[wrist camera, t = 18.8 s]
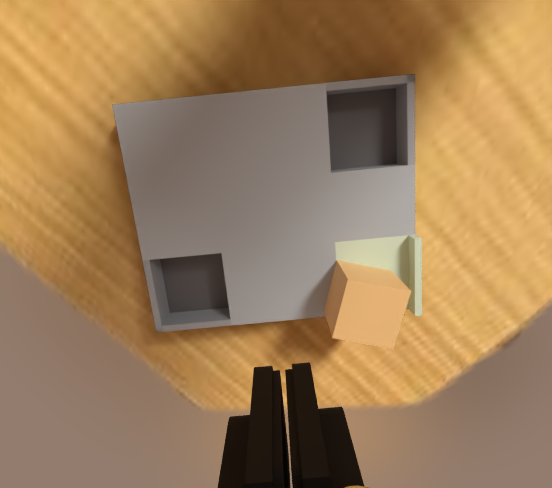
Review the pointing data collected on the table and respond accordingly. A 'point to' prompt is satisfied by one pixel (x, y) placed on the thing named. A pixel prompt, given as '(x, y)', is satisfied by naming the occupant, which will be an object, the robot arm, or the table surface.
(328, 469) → the robot arm
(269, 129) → the grey sorting tray
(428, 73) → the table surface
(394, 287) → the block
